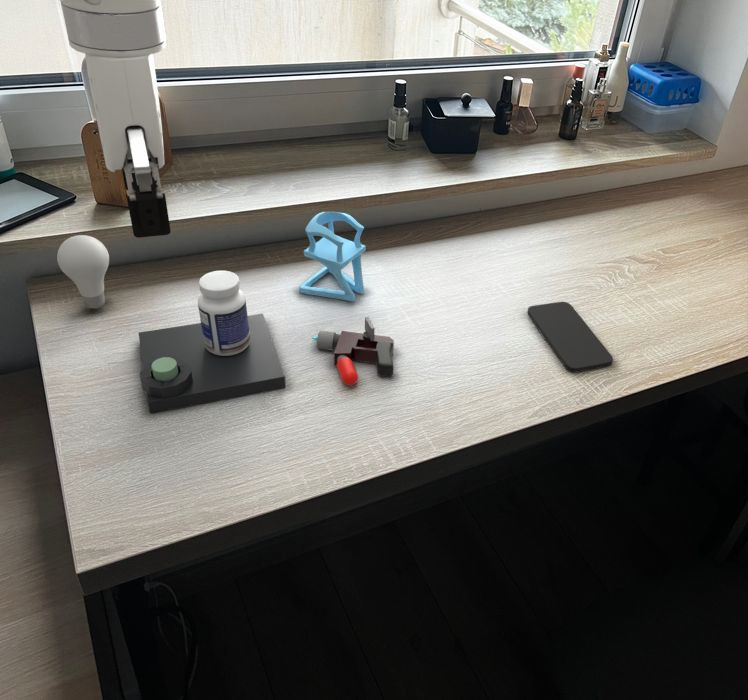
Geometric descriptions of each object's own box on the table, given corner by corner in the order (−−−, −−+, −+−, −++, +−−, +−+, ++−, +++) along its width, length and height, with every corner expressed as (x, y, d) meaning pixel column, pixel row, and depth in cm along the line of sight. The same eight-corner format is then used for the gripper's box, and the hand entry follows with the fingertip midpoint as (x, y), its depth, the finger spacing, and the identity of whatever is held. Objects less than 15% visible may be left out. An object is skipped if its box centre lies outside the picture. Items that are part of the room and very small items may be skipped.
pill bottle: (256, 334, 97) (250, 271, 90) (241, 360, 92) (233, 296, 86) (214, 328, 97) (205, 264, 90) (197, 354, 92) (186, 289, 86)
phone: (570, 369, 99) (524, 306, 109) (568, 374, 99) (524, 311, 110) (616, 361, 101) (568, 300, 112) (615, 365, 102) (567, 304, 112)
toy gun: (314, 337, 100) (312, 309, 97) (399, 348, 100) (401, 320, 97) (296, 383, 93) (294, 354, 90) (388, 394, 93) (390, 365, 90)
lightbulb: (113, 290, 104) (96, 222, 97) (125, 312, 100) (109, 243, 94) (67, 301, 101) (46, 232, 94) (78, 324, 97) (58, 254, 90)
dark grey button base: (147, 414, 86) (142, 392, 84) (138, 344, 95) (133, 322, 93) (285, 387, 92) (284, 366, 90) (263, 324, 101) (261, 303, 99)
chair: (344, 309, 106) (344, 238, 99) (298, 291, 108) (294, 220, 101) (372, 285, 112) (374, 216, 104) (327, 269, 114) (326, 200, 107)
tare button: (154, 383, 85) (152, 373, 84) (152, 369, 87) (150, 359, 86) (179, 379, 86) (177, 369, 85) (177, 365, 88) (175, 355, 87)
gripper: (63, -2, 65) (100, 176, 75) (68, 59, 53) (111, 260, 63) (153, 0, 68) (176, 170, 78) (176, 58, 56) (200, 250, 66)
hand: (147, 210), depth 71 cm, fingers open, 9 cm apart
